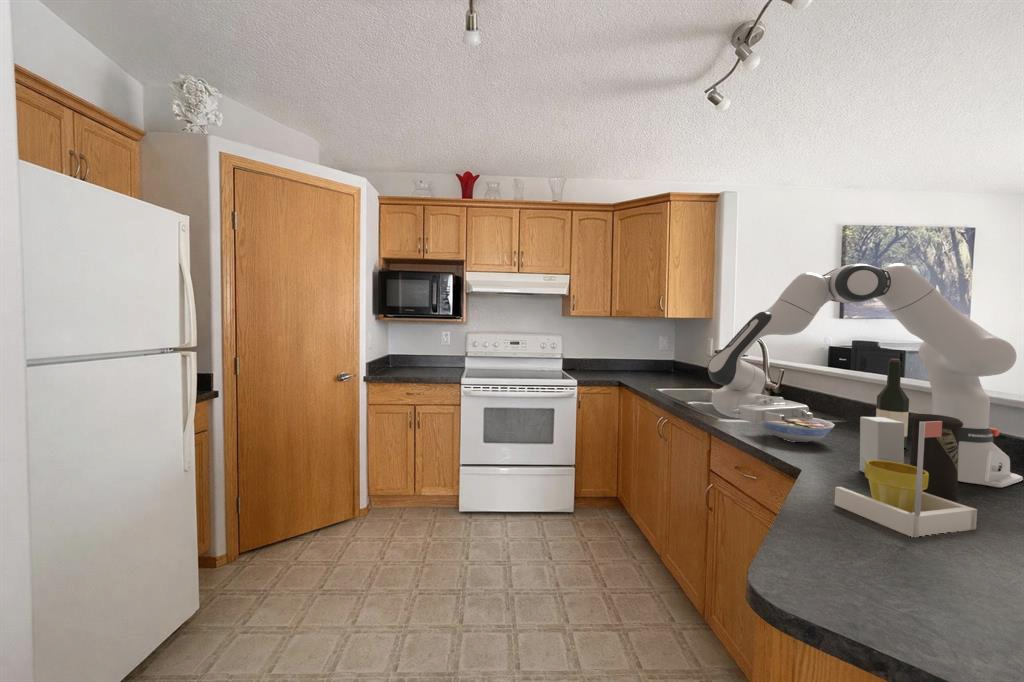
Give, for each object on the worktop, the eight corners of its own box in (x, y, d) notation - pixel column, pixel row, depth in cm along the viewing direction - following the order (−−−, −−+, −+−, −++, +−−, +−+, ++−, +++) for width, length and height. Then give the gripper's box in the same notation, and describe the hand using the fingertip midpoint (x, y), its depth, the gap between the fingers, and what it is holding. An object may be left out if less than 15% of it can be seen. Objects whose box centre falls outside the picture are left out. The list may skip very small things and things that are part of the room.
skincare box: (904, 482, 113) (907, 423, 113) (875, 480, 114) (878, 421, 114) (883, 471, 121) (886, 416, 121) (856, 469, 123) (859, 415, 122)
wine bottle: (913, 449, 145) (918, 360, 144) (888, 449, 145) (893, 359, 144) (892, 442, 153) (896, 358, 152) (868, 442, 153) (872, 357, 152)
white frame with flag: (891, 498, 102) (896, 405, 101) (976, 529, 87) (982, 420, 86) (834, 504, 98) (839, 407, 97) (912, 537, 83) (919, 423, 82)
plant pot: (912, 505, 98) (914, 463, 97) (936, 525, 88) (939, 477, 88) (856, 498, 102) (858, 456, 101) (873, 515, 92) (875, 470, 92)
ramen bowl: (854, 449, 144) (855, 424, 144) (797, 452, 139) (798, 426, 139) (791, 430, 169) (792, 410, 168) (740, 432, 164) (741, 411, 163)
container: (949, 509, 96) (954, 420, 95) (898, 495, 104) (903, 412, 103) (965, 502, 100) (970, 417, 99) (915, 489, 108) (919, 410, 107)
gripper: (727, 399, 128) (765, 407, 114) (783, 396, 133) (826, 403, 119) (727, 420, 128) (765, 431, 115) (783, 416, 133) (826, 426, 120)
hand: (796, 417), depth 117 cm, fingers open, 8 cm apart
